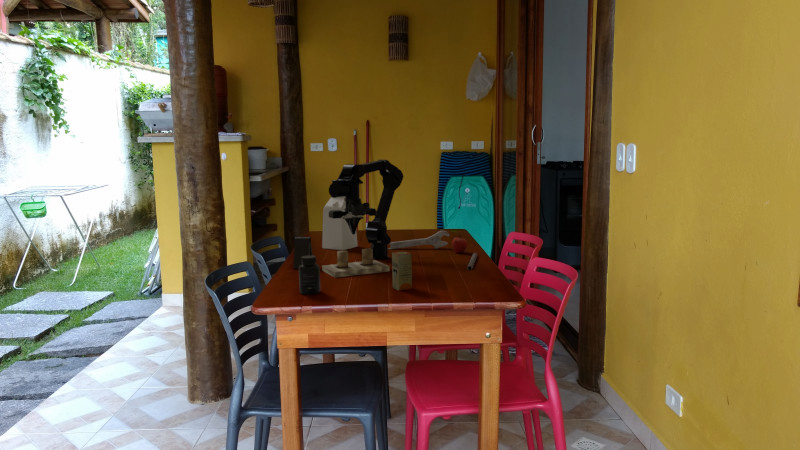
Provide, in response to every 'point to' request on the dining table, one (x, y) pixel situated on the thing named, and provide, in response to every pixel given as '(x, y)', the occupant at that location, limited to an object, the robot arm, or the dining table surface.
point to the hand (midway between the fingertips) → (353, 234)
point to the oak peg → (342, 259)
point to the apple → (459, 244)
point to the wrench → (422, 241)
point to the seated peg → (367, 257)
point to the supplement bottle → (309, 276)
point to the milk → (337, 228)
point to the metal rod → (472, 261)
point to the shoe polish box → (402, 270)
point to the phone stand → (301, 250)
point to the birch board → (355, 269)
